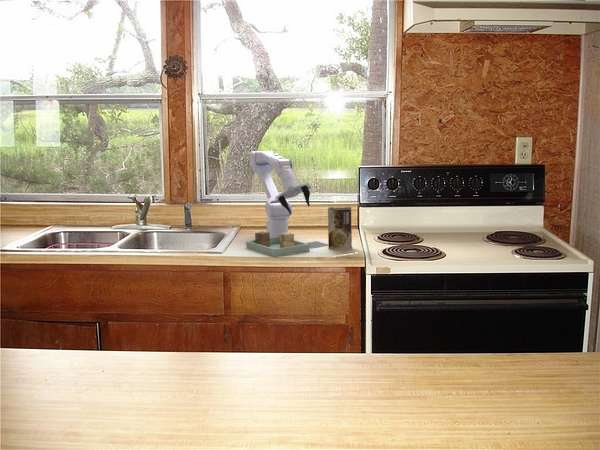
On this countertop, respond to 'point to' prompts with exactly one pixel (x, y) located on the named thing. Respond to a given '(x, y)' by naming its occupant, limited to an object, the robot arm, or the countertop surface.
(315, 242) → the mat
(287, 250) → the bin
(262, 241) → the walnut block
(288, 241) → the oak block
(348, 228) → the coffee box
